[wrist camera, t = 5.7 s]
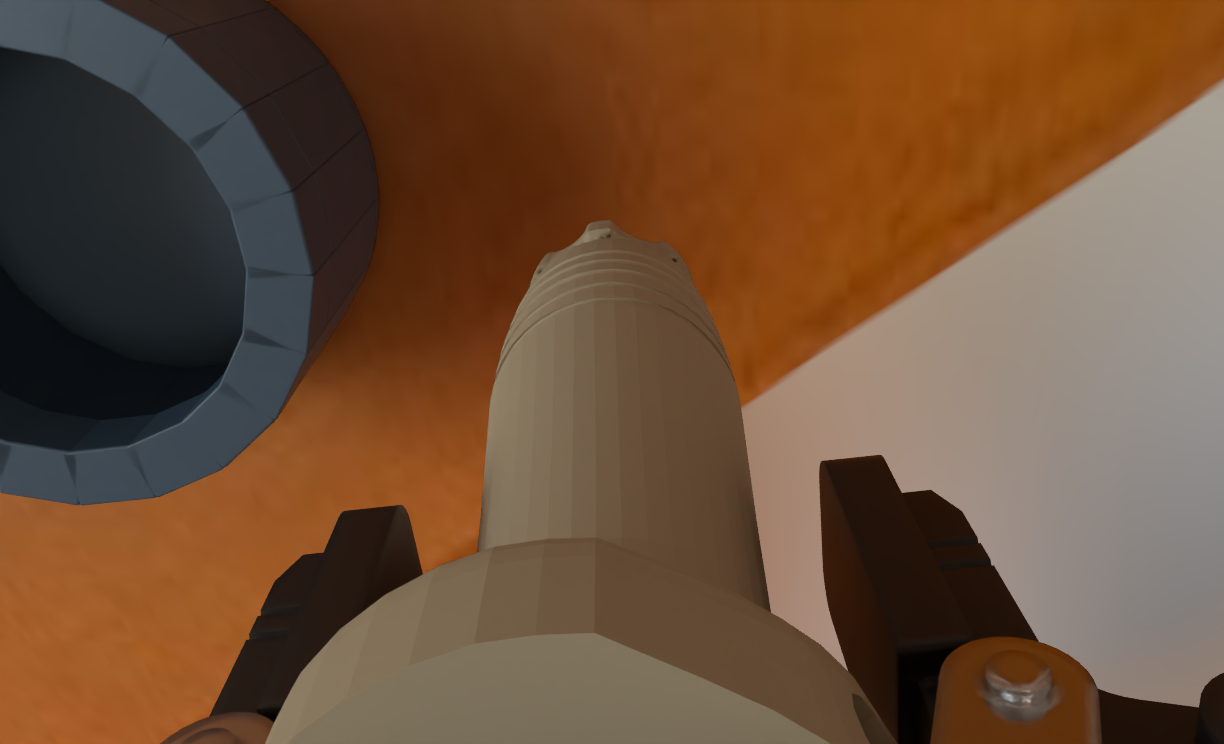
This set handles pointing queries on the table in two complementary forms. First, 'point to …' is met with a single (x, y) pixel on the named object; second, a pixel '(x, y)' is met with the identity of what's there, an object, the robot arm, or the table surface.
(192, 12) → the jar
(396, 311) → the table surface
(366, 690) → the handle
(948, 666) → the robot arm
